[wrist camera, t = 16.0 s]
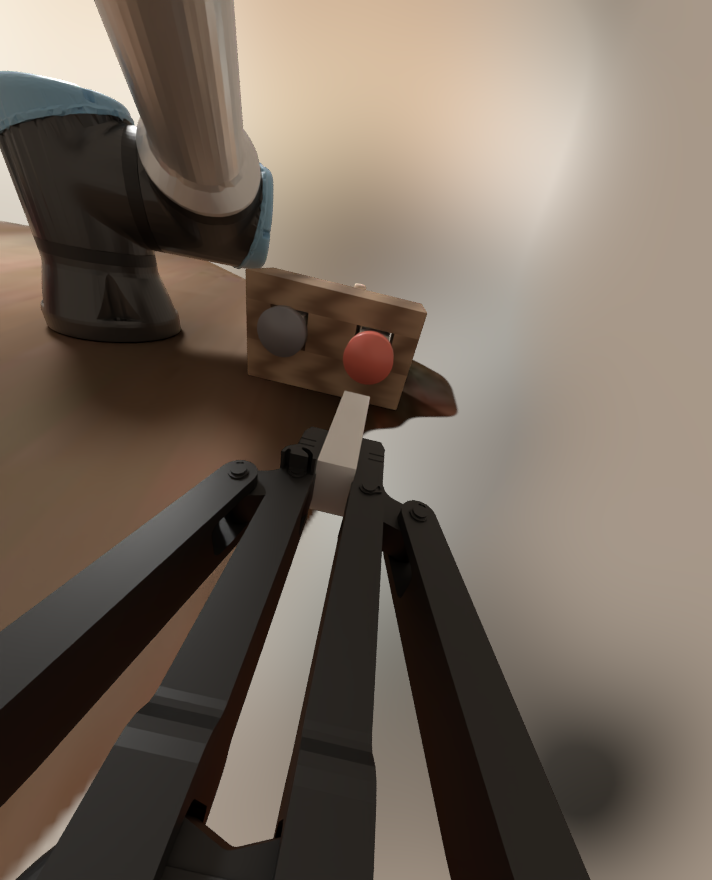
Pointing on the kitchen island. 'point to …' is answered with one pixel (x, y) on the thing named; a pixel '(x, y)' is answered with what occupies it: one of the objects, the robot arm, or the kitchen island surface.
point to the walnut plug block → (330, 333)
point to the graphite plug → (283, 330)
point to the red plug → (368, 356)
